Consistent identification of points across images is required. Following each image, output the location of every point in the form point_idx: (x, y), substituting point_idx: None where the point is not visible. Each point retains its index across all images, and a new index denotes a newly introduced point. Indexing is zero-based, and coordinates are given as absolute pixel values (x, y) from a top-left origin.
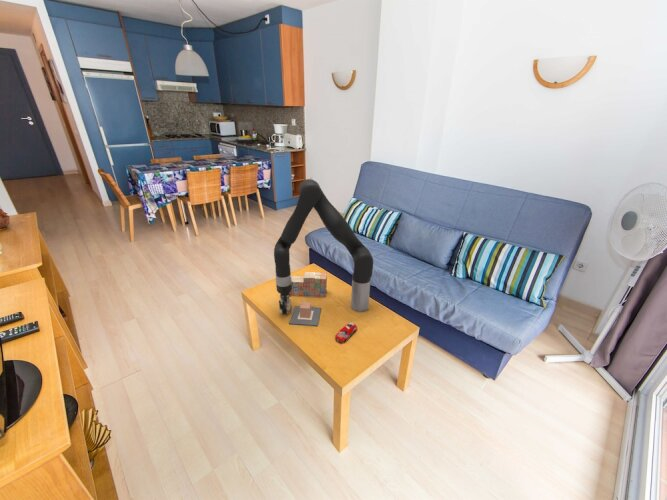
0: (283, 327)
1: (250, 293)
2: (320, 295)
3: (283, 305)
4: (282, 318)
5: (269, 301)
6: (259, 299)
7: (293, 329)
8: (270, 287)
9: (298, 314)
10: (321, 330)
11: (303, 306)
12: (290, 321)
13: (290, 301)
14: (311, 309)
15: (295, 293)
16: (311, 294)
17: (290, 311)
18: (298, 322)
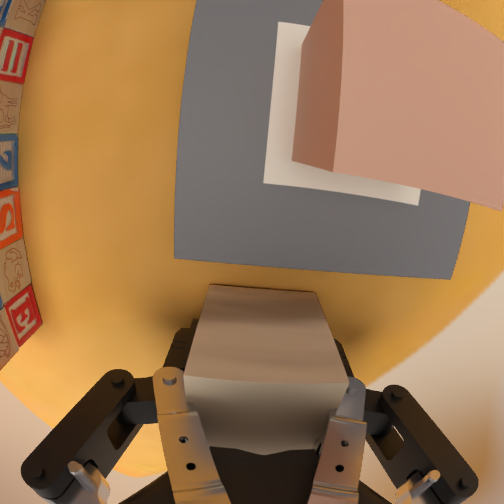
0: (457, 307)
1: (118, 471)
2: (24, 30)
3: (439, 444)
4: (362, 338)
5: (150, 427)
6: (148, 457)
7: (489, 231)
8: (36, 406)
9: (349, 198)
10: (488, 27)
11: (480, 132)
12: (436, 270)
13: (239, 368)
14: (247, 45)
15: (14, 273)
16: (4, 112)
17: (271, 290)
18: None
